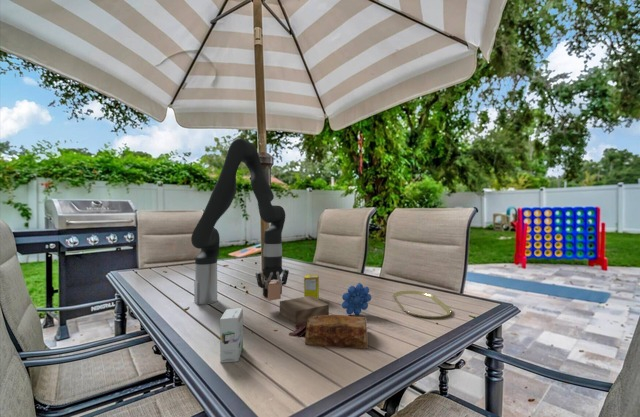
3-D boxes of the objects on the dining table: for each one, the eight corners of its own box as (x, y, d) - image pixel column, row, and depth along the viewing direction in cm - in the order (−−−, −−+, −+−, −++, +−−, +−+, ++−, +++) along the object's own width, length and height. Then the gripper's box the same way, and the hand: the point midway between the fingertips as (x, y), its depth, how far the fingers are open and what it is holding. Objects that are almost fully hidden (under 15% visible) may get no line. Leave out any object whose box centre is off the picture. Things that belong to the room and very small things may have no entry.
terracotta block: (269, 300, 117) (269, 285, 117) (264, 297, 121) (264, 282, 121) (280, 298, 119) (280, 283, 119) (275, 295, 124) (275, 281, 124)
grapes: (368, 310, 119) (368, 280, 119) (373, 316, 112) (372, 284, 113) (340, 311, 118) (339, 281, 118) (342, 317, 111) (342, 285, 111)
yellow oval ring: (408, 320, 109) (408, 316, 109) (389, 293, 144) (389, 290, 144) (459, 320, 109) (459, 316, 109) (428, 293, 144) (428, 290, 144)
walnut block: (295, 325, 105) (295, 311, 105) (279, 314, 117) (279, 301, 117) (328, 317, 112) (328, 304, 112) (310, 307, 124) (310, 295, 124)
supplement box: (319, 298, 136) (318, 274, 136) (317, 302, 130) (317, 277, 130) (306, 298, 137) (306, 274, 137) (304, 302, 131) (304, 277, 131)
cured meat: (294, 323, 107) (294, 304, 106) (365, 326, 104) (365, 306, 104) (282, 347, 89) (282, 325, 88) (367, 351, 86) (367, 328, 86)
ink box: (226, 348, 87) (226, 308, 87) (243, 347, 88) (243, 307, 88) (219, 363, 79) (219, 318, 79) (238, 362, 79) (238, 317, 79)
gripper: (284, 252, 127) (284, 291, 127) (252, 254, 120) (252, 296, 119) (292, 254, 121) (292, 296, 121) (259, 257, 113) (258, 301, 113)
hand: (272, 296), depth 120 cm, fingers closed on terracotta block, 5 cm apart
